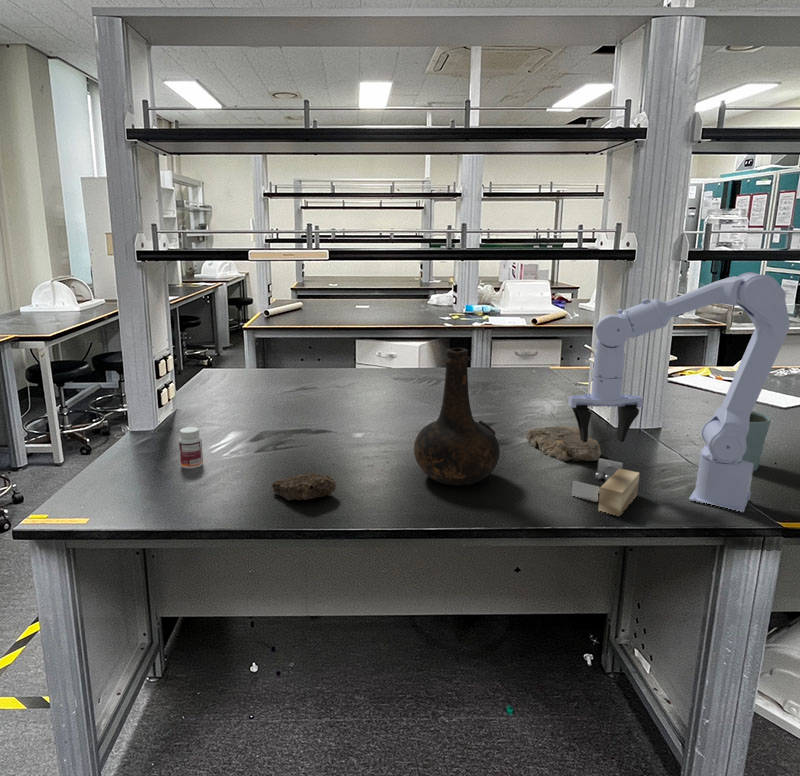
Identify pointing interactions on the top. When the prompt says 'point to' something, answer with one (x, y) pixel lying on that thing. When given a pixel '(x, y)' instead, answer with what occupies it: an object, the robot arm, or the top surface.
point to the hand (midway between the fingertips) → (602, 440)
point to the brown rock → (304, 486)
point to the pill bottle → (190, 448)
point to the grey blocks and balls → (592, 491)
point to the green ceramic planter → (756, 438)
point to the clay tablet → (564, 443)
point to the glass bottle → (456, 433)
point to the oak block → (618, 492)
